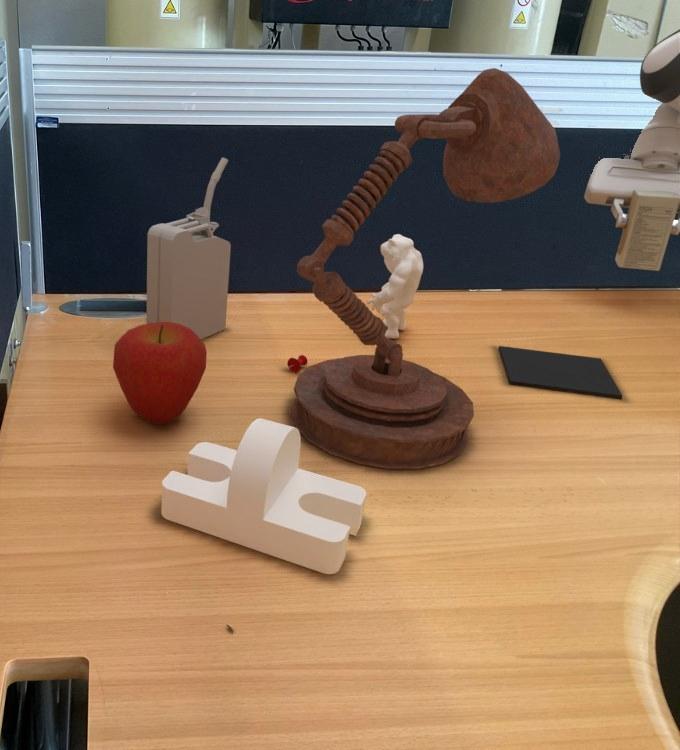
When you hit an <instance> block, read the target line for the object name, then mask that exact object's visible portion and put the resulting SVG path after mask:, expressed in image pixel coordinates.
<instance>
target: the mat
mask: <svg viewBox="0 0 680 750" xmlns="http://www.w3.org/2000/svg"><path fill="white" fill-rule="evenodd" d="M498 351H499V354H500V357H501V358H500V359H501V361H502V364H503V367H504V371H505V374H506V376H507V381H508V384H509V385H516V386H523V387H531V388H537V389H545V390H554V391H558V392H559V391H561V392H568V393H575V394H582V395H583V394H584V395H590V396H597V397H603V398H605V397H607V398H613V399H620V400H621V399H622V398H623V394H622V393H621V390H620V389H619V387H618V385H617V383H616V382H615V380H614V378H613V377H612V375H611V374H610V372H609V370H608V368H607V367H606V365H605V363H604V362H603V359H602V358H599V357H592V356H585V355H584V356H583V355H575V354H569V353H568V354H567V353H559V352H551V351H542V350H536V349H528V348H520V347H519V348H518V347H511V346H504V345H503V346H502V345H499V346H498Z"/></svg>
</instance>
